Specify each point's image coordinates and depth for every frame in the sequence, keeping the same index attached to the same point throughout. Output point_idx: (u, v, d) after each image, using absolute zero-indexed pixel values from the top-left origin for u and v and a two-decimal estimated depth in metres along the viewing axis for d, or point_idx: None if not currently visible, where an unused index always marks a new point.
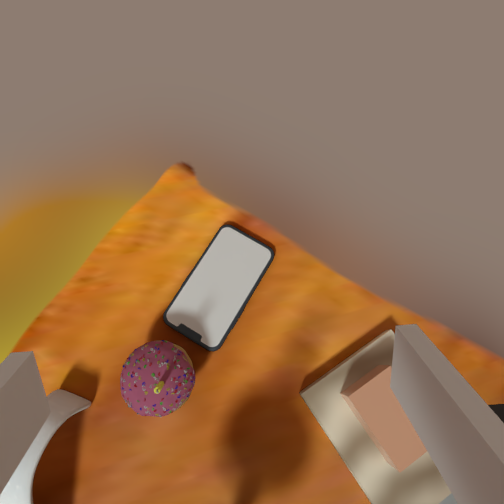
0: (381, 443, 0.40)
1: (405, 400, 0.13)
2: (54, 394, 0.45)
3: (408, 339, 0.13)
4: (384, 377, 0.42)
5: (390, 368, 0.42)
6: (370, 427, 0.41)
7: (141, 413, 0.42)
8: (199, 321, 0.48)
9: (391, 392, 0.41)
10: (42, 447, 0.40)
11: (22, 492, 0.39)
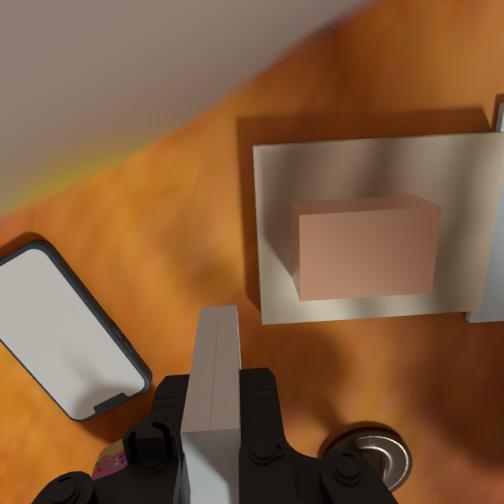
0: (383, 294, 0.25)
1: None
2: None
3: (219, 317, 0.15)
4: (310, 235, 0.24)
5: (303, 218, 0.23)
6: (356, 296, 0.25)
7: None
8: (101, 387, 0.33)
9: (335, 239, 0.24)
10: None
11: None
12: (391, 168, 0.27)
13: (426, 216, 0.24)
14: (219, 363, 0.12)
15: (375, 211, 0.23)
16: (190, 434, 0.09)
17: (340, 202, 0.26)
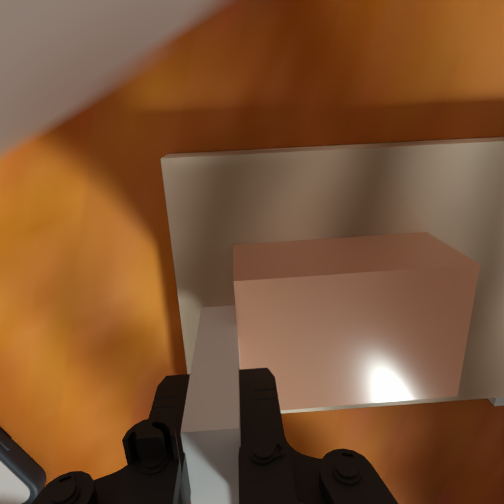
0: (380, 399, 0.16)
1: None
2: None
3: (219, 317, 0.15)
4: (254, 313, 0.14)
5: (240, 285, 0.13)
6: (335, 403, 0.15)
7: None
8: None
9: (297, 318, 0.14)
10: None
11: None
12: (385, 193, 0.17)
13: (453, 280, 0.14)
14: (219, 363, 0.12)
15: (365, 273, 0.13)
16: (190, 434, 0.09)
17: (310, 248, 0.16)
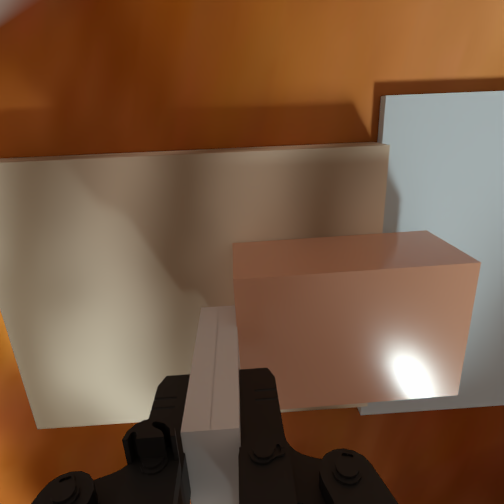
0: (380, 398, 0.15)
1: None
2: None
3: (219, 317, 0.15)
4: (254, 311, 0.14)
5: (240, 284, 0.13)
6: (335, 402, 0.15)
7: None
8: None
9: (297, 317, 0.14)
10: None
11: None
12: (198, 201, 0.16)
13: (454, 278, 0.14)
14: (219, 363, 0.12)
15: (366, 271, 0.13)
16: (190, 434, 0.09)
17: (310, 246, 0.16)
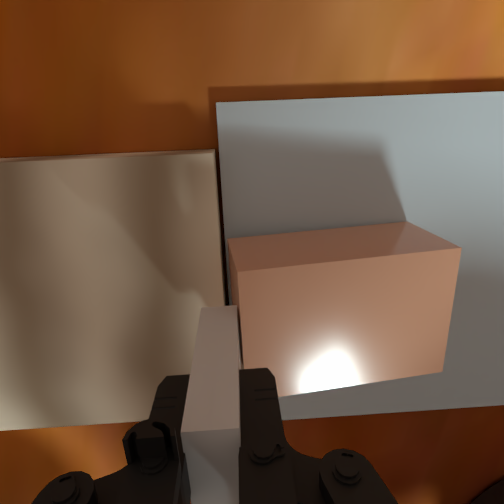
0: (374, 379, 0.16)
1: None
2: None
3: (219, 317, 0.15)
4: (257, 302, 0.14)
5: (244, 276, 0.14)
6: (333, 386, 0.16)
7: None
8: None
9: (298, 305, 0.15)
10: None
11: None
12: (24, 209, 0.16)
13: (438, 263, 0.15)
14: (219, 363, 0.12)
15: (361, 259, 0.14)
16: (190, 434, 0.09)
17: (303, 239, 0.17)
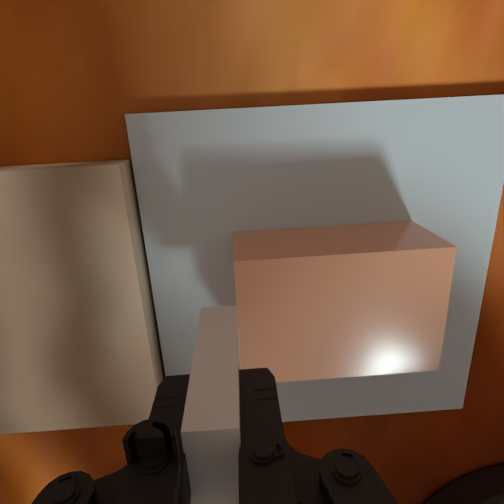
0: (368, 373, 0.17)
1: None
2: None
3: (219, 317, 0.15)
4: (252, 291, 0.15)
5: (240, 265, 0.15)
6: (326, 376, 0.17)
7: None
8: None
9: (291, 296, 0.15)
10: None
11: None
12: None
13: (432, 261, 0.15)
14: (219, 363, 0.12)
15: (353, 254, 0.15)
16: (190, 434, 0.09)
17: (304, 234, 0.18)
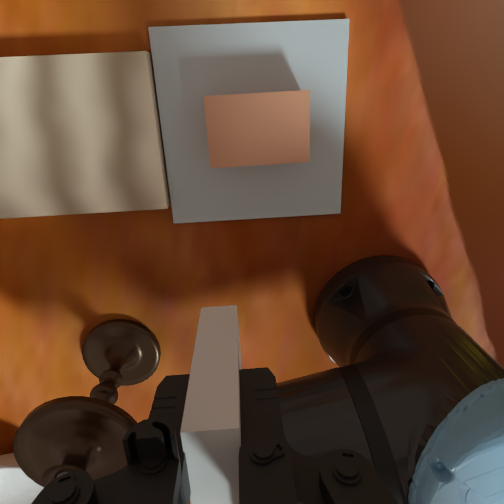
0: (273, 162, 0.34)
1: None
2: None
3: (219, 317, 0.15)
4: (213, 112, 0.32)
5: (206, 98, 0.31)
6: (252, 164, 0.34)
7: None
8: None
9: (232, 116, 0.32)
10: None
11: None
12: (53, 81, 0.33)
13: (299, 97, 0.32)
14: (219, 363, 0.12)
15: (260, 93, 0.31)
16: (190, 434, 0.09)
17: None
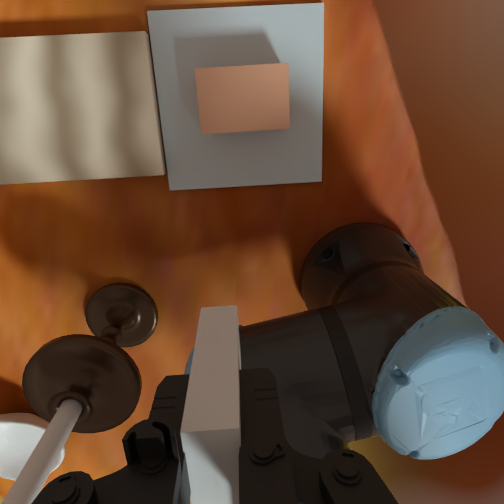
0: (257, 129, 0.38)
1: None
2: None
3: (219, 317, 0.15)
4: (203, 83, 0.36)
5: (197, 70, 0.36)
6: (239, 130, 0.38)
7: None
8: None
9: (220, 86, 0.36)
10: None
11: None
12: (63, 58, 0.37)
13: (279, 69, 0.36)
14: (219, 363, 0.12)
15: (244, 66, 0.36)
16: (190, 434, 0.09)
17: None
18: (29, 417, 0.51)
